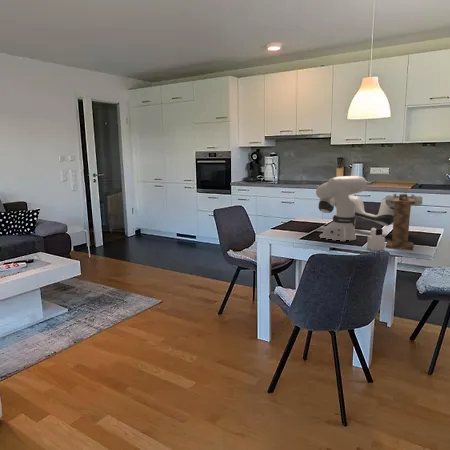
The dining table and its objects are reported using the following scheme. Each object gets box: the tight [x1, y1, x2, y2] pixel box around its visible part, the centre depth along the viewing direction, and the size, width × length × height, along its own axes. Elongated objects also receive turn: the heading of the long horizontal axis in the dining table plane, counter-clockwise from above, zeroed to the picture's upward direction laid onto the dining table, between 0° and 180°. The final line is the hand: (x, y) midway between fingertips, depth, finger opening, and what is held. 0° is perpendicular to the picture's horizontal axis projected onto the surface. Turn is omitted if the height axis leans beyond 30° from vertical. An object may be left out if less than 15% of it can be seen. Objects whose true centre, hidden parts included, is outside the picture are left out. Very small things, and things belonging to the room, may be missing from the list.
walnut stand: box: [385, 198, 415, 251], centre depth 218 cm, size 14×12×27 cm
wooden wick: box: [398, 192, 408, 200], centre depth 220 cm, size 4×16×3 cm, turn 154°
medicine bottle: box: [366, 227, 386, 252], centre depth 215 cm, size 7×7×12 cm
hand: (403, 195), depth 224 cm, fingers open, 8 cm apart
